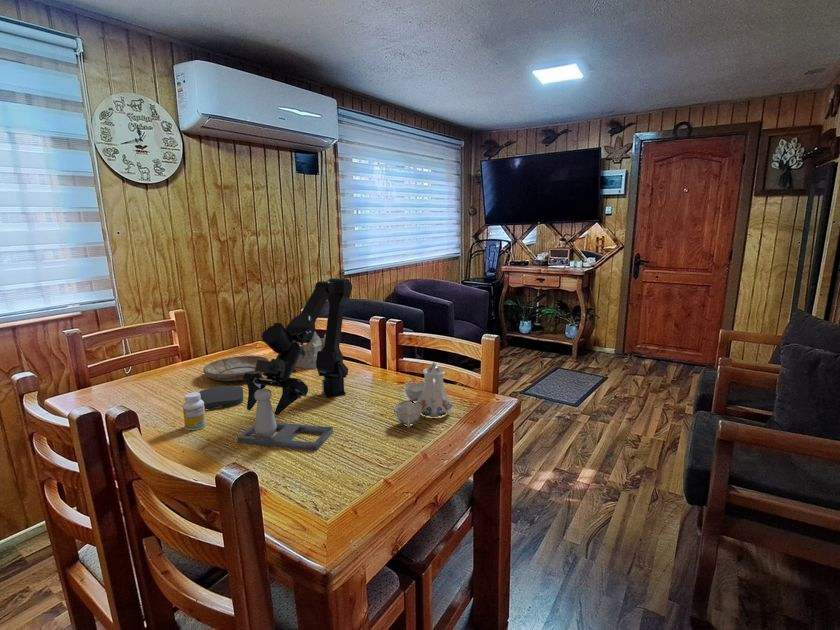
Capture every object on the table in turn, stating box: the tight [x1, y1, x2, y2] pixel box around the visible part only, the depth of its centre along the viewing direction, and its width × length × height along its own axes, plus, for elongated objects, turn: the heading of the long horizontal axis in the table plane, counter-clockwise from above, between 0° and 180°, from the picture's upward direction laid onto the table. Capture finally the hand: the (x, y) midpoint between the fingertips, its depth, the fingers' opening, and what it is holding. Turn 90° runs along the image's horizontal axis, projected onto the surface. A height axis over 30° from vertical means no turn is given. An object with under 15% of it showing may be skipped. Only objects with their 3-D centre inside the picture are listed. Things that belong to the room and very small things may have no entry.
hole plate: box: [236, 421, 334, 451], centre depth 121 cm, size 22×10×2 cm, turn 78°
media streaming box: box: [198, 385, 244, 410], centre depth 147 cm, size 15×15×3 cm
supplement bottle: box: [182, 391, 207, 431], centre depth 127 cm, size 5×5×10 cm
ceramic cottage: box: [295, 331, 326, 370], centre depth 186 cm, size 16×16×15 cm
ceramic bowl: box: [203, 355, 270, 382], centre depth 171 cm, size 23×24×5 cm
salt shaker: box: [254, 388, 277, 438], centre depth 121 cm, size 6×6×13 cm
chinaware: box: [393, 361, 453, 429], centre depth 135 cm, size 28×17×17 cm, turn 178°
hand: (261, 412), depth 120 cm, fingers open, 9 cm apart
